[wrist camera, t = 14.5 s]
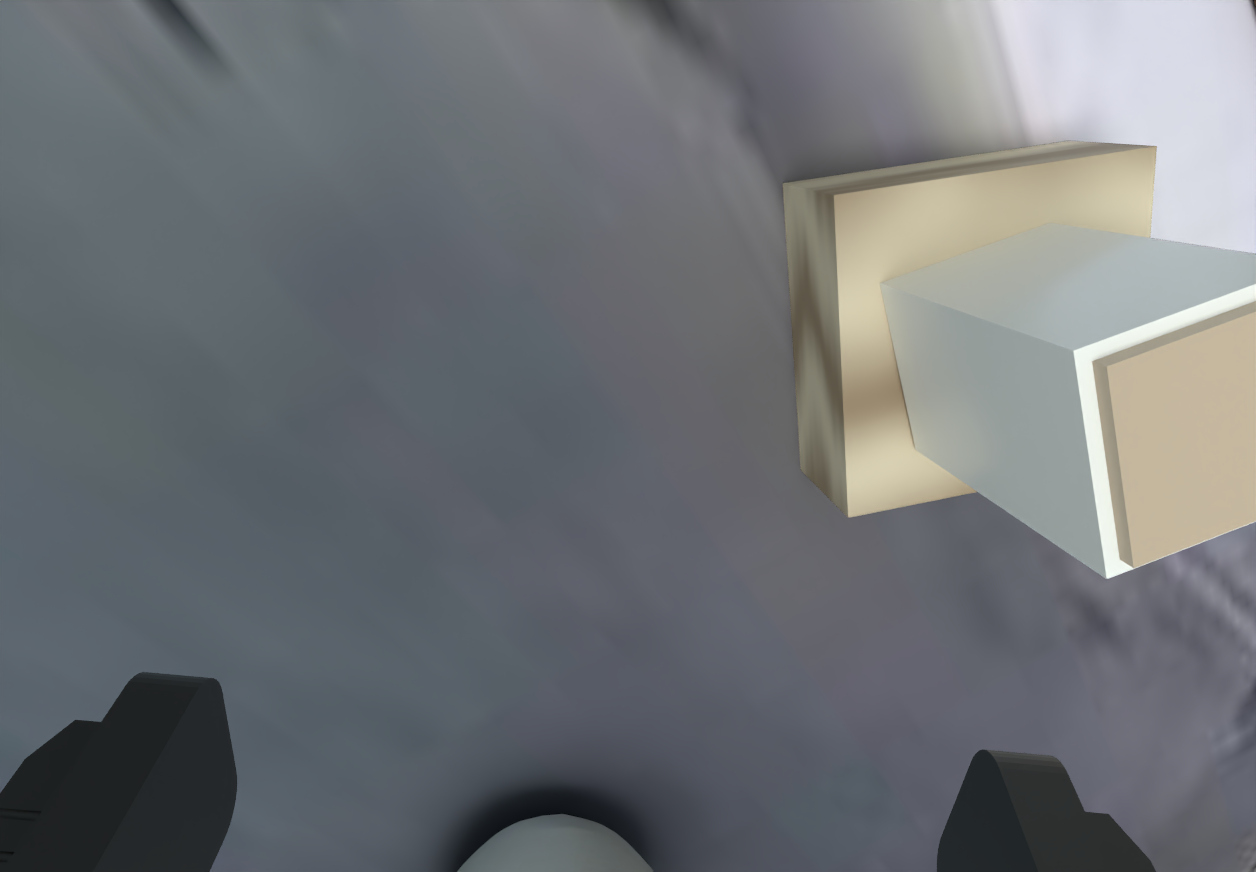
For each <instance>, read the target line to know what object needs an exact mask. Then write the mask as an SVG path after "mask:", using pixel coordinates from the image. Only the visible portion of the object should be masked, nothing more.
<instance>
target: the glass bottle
mask: <svg viewBox="0 0 1256 872" xmlns="http://www.w3.org/2000/svg"><path fill="white" fill-rule="evenodd" d="M457 872H654V871H653V870H652V869H651V867H650V866H649V865H648V864H647V863H646V862H645V860H644V859H643V858H642V857H641V856H640V855H639V854H638V853H637V852H636V851H635V850H634V849H633V848H632V847H631V846H630V845H629V844H628V843H627V842H626V841H625V840H624V839H623V838H622V837H620V836H619V835H618V834H617V833H615V832H614V831H612V830H610V829H609V828H607V827H605V826H603V825H601V824H599V823H596V822H594V821H590V820H587V819H583V818H579V817H574V816H570V815H566V814H556V815H544V816H539V817H534V818H530V819H526V820H522V821H519V822H517V823H514V824H512V825H510V826H508V827H506V828H505V829H503V830H501V831H500V832H498V833H497V834H495V835H494V836H493V837H492V838H490V839H489V840H488V841H487V842H486V843H485V844H483V845H482V846H481V847H480V848H479V849H478V850H477V851H476V852H475V853H474V854H473V855H472V856H471V857H470V858H469V859H468V860H467V861H466V862H465V863H464V864H463V865H462V866H461V867H460V869H459V870H458V871H457Z"/></svg>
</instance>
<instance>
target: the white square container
mask: <svg viewBox="0 0 1256 872" xmlns="http://www.w3.org/2000/svg"><path fill="white" fill-rule="evenodd" d="M880 287H881V292H882V296H883V301H884V305H885V310H886V315H887V319H888V324H889V329H890V333H891V338H892V342H893V347H894V352H895V356H896V361H897V366H898V370H899V375H900V379H901V384H902V389H903V393H904V398H905V403H906V407H907V412H908V416H909V421H910V426H911V430H912V435H913V440H914V444H915V449H916V450H917V451H918V452H919V453H921V454H922V455H924V456H925V457H927V458H928V459H930V460H931V461H933V462H934V463H936V464H937V465H939V466H940V467H942V468H943V469H945V470H946V471H948V472H949V473H951V474H952V475H954V476H955V477H956V478H958V479H959V480H961V481H962V482H964V483H965V484H967V485H968V486H970V487H971V488H973V489H974V490H976V491H977V492H979V493H980V494H982V495H983V496H985V497H986V498H988V499H989V500H990V501H992V502H993V503H995V504H996V505H998V506H999V507H1001V508H1002V509H1004V510H1005V511H1007V512H1008V513H1010V514H1011V515H1013V516H1014V517H1016V518H1017V519H1019V520H1020V521H1022V522H1023V523H1025V524H1026V525H1027V526H1029V527H1030V528H1032V529H1033V530H1035V531H1036V532H1038V533H1039V534H1041V535H1042V536H1044V537H1045V538H1047V539H1048V540H1050V541H1051V542H1053V543H1054V544H1056V545H1057V546H1059V547H1060V548H1061V549H1063V550H1064V551H1066V552H1067V553H1069V554H1070V555H1072V556H1073V557H1075V558H1076V559H1078V560H1079V561H1081V562H1082V563H1084V564H1085V565H1087V566H1088V567H1090V568H1091V569H1093V570H1094V571H1096V572H1097V573H1098V574H1100V575H1101V576H1103V577H1104V578H1106V579H1108V578H1111V577H1114V576H1116V575H1119V574H1121V573H1124V572H1127V571H1129V570H1132V569H1134V568H1137V567H1140V566H1142V565H1145V564H1147V563H1150V562H1152V561H1155V560H1158V559H1160V558H1163V557H1165V556H1168V555H1171V554H1173V553H1176V552H1178V551H1181V550H1183V549H1186V548H1189V547H1191V546H1194V545H1196V544H1199V543H1202V542H1204V541H1207V540H1209V539H1212V538H1215V537H1217V536H1220V535H1222V534H1225V533H1227V532H1230V531H1233V530H1235V529H1238V528H1240V527H1243V526H1246V525H1248V524H1251V523H1253V522H1256V254H1254V253H1248V252H1241V251H1234V250H1228V249H1221V248H1215V247H1208V246H1201V245H1195V244H1188V243H1181V242H1175V241H1168V240H1161V239H1155V238H1148V237H1141V236H1135V235H1128V234H1121V233H1115V232H1108V231H1101V230H1095V229H1088V228H1082V227H1075V226H1068V225H1062V224H1055V223H1048V224H1045V225H1042V226H1039V227H1037V228H1034V229H1031V230H1028V231H1025V232H1023V233H1020V234H1017V235H1014V236H1011V237H1009V238H1006V239H1003V240H1000V241H997V242H994V243H992V244H989V245H986V246H983V247H980V248H978V249H975V250H972V251H969V252H966V253H963V254H961V255H958V256H955V257H952V258H949V259H947V260H944V261H941V262H938V263H935V264H932V265H930V266H927V267H924V268H921V269H918V270H916V271H913V272H910V273H907V274H904V275H902V276H899V277H896V278H893V279H890V280H887V281H885V282H882V283H880Z"/></svg>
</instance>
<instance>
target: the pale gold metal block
mask: <svg viewBox="0 0 1256 872" xmlns="http://www.w3.org/2000/svg"><path fill="white" fill-rule="evenodd" d="M1156 148H1157V146H1146V145H1129V144H1113V143H1096V142H1080V141H1063V142H1056V143H1050V144H1043V145H1036V146H1029V147H1023V148H1016V149H1009V150H1003V151H996V152H989V153H982V154H976V155H969V156H962V157H956V158H949V159H942V160H936V161H929V162H922V163H915V164H909V165H902V166H895V167H889V168H882V169H875V170H868V171H862V172H855V173H848V174H842V175H835V176H828V177H822V178H815V179H808V180H801V181H795V182H788V183H783V197H784V212H785V228H786V244H787V260H788V275H789V291H790V307H791V323H792V338H793V354H794V370H795V386H796V401H797V417H798V433H799V448H800V464H801V471H802V472H803V473H804V474H805V475H806V476H807V477H808V478H809V479H810V480H811V481H812V482H813V483H814V484H815V485H816V486H817V487H818V488H819V489H820V490H821V491H822V492H823V493H824V494H825V495H826V496H827V497H828V498H829V499H830V500H831V501H832V502H833V503H834V504H835V505H836V506H837V507H838V508H839V509H840V510H841V511H842V512H843V513H844V514H845V515H846V516H847V517H848V518H849V517H854V516H859V515H864V514H869V513H874V512H879V511H884V510H889V509H894V508H899V507H904V506H909V505H914V504H919V503H924V502H929V501H934V500H939V499H944V498H949V497H954V496H959V495H964V494H969V493H974V492H977V491H976V490H974V489H973V488H971V487H970V486H968V485H967V484H965V483H964V482H962V481H961V480H959V479H958V478H956V477H955V476H954V475H952V474H951V473H949V472H948V471H946V470H945V469H943V468H942V467H940V466H939V465H937V464H936V463H934V462H933V461H931V460H930V459H928V458H927V457H925V456H924V455H922V454H921V453H919V452H918V451H917V450H916V449H915V444H914V440H913V435H912V430H911V426H910V421H909V416H908V412H907V407H906V403H905V398H904V393H903V389H902V384H901V379H900V375H899V370H898V366H897V361H896V356H895V352H894V347H893V342H892V338H891V333H890V329H889V324H888V319H887V315H886V310H885V305H884V301H883V296H882V292H881V287H880V283H882V282H885V281H887V280H890V279H893V278H896V277H899V276H902V275H904V274H907V273H910V272H913V271H916V270H918V269H921V268H924V267H927V266H930V265H932V264H935V263H938V262H941V261H944V260H947V259H949V258H952V257H955V256H958V255H961V254H963V253H966V252H969V251H972V250H975V249H978V248H980V247H983V246H986V245H989V244H992V243H994V242H997V241H1000V240H1003V239H1006V238H1009V237H1011V236H1014V235H1017V234H1020V233H1023V232H1025V231H1028V230H1031V229H1034V228H1037V227H1039V226H1042V225H1045V224H1048V223H1055V224H1062V225H1068V226H1075V227H1082V228H1088V229H1095V230H1101V231H1108V232H1115V233H1121V234H1128V235H1135V236H1141V237H1148V238H1150V233H1151V219H1152V204H1153V190H1154V176H1155V162H1156Z"/></svg>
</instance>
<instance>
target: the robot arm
mask: <svg viewBox="0 0 1256 872" xmlns="http://www.w3.org/2000/svg"><path fill="white" fill-rule="evenodd" d="M236 792H237V773H236V767H235V761H234V756H233V750H232V744H231V739H230V733H229V727H228V721H227V716H226V710H225V704H224V699H223V693H222V689H221V686H220V684H219V682H218V681H217V680H216V679H214V678H204V677H193V676H182V675H170V674H159V673H148V672H142V673H139V674H137V675H136V676H134V677H133V678H132V679H131V680H130V681H129V682H128V683H127V685H126V686H125V687H124V689H123V690H122V692H121V693H120V695H119V696H118V698H117V699H116V701H115V702H114V704H113V705H112V707H111V708H110V710H109V711H108V713H107V714H106V716H105V717H104V719H103V720H102V722H93V721H82V720H75V721H73V722H72V723H71V724H70V725H68V726H67V727H66V728H64V729H63V730H62V731H61V732H59V733H58V734H57V735H55V736H54V737H53V738H52V739H50V740H49V741H48V742H46V743H45V744H44V745H43V746H41V747H40V748H39V749H37V750H36V751H35V752H34V753H32V754H31V755H30V756H28V757H27V758H26V759H25V760H24V761H23V763H22V764H21V766H20V767H19V768H18V770H17V771H16V772H15V774H14V775H13V777H12V778H11V779H10V781H9V782H8V783H7V785H6V786H5V788H4V789H3V790H2V792H1V793H0V872H209V871H210V869H211V867H212V865H213V862H214V860H215V858H216V856H217V854H218V852H219V849H220V847H221V845H222V843H223V841H224V838H225V836H226V834H227V831H228V828H229V825H230V822H231V818H232V815H233V810H234V806H235V800H236ZM937 872H1156V871H1155V869H1154V867H1153V865H1152V863H1151V861H1150V860H1149V859H1148V857H1147V856H1146V855H1145V854H1144V853H1143V852H1142V851H1141V850H1140V849H1139V847H1138V846H1137V845H1136V844H1135V843H1134V842H1133V841H1132V840H1131V839H1130V837H1129V836H1128V835H1127V834H1126V833H1125V832H1124V831H1123V830H1122V829H1121V827H1120V826H1119V825H1118V824H1117V823H1116V822H1115V821H1114V820H1113V819H1112V818H1111V816H1110V815H1109V814H1102V813H1091V812H1085V811H1084V809H1083V807H1082V804H1081V802H1080V800H1079V798H1078V795H1077V793H1076V791H1075V789H1074V787H1073V784H1072V782H1071V780H1070V778H1069V775H1068V773H1067V771H1066V769H1065V768H1064V766H1063V765H1062V763H1061V762H1060V761H1059V760H1058V759H1057V758H1055V757H1053V756H1049V755H1037V754H1026V753H1015V752H1004V751H992V750H980V751H978V752H977V753H976V754H975V756H974V757H973V759H972V761H971V763H970V766H969V768H968V771H967V773H966V776H965V779H964V781H963V784H962V786H961V789H960V791H959V794H958V796H957V799H956V801H955V804H954V806H953V809H952V811H951V814H950V816H949V819H948V821H947V824H946V826H945V829H944V831H943V834H942V837H941V840H940V844H939V848H938V856H937Z"/></svg>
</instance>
